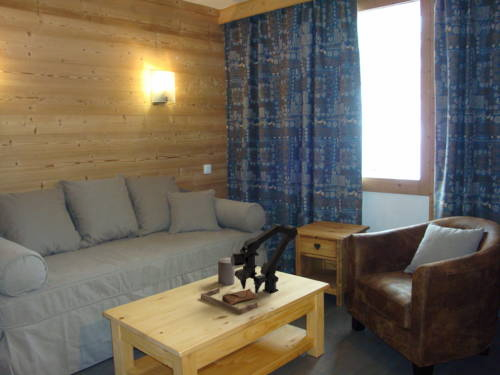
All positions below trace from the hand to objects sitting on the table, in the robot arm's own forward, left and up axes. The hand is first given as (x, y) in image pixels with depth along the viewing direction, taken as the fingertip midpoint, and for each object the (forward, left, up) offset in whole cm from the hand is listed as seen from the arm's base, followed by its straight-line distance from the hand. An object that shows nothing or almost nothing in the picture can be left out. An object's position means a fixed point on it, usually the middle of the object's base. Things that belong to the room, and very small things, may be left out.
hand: (249, 291), depth 249 cm
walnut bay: (+16, 0, -2) cm, 16 cm away
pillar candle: (-3, -22, -2) cm, 22 cm away
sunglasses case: (+9, +2, -2) cm, 9 cm away
